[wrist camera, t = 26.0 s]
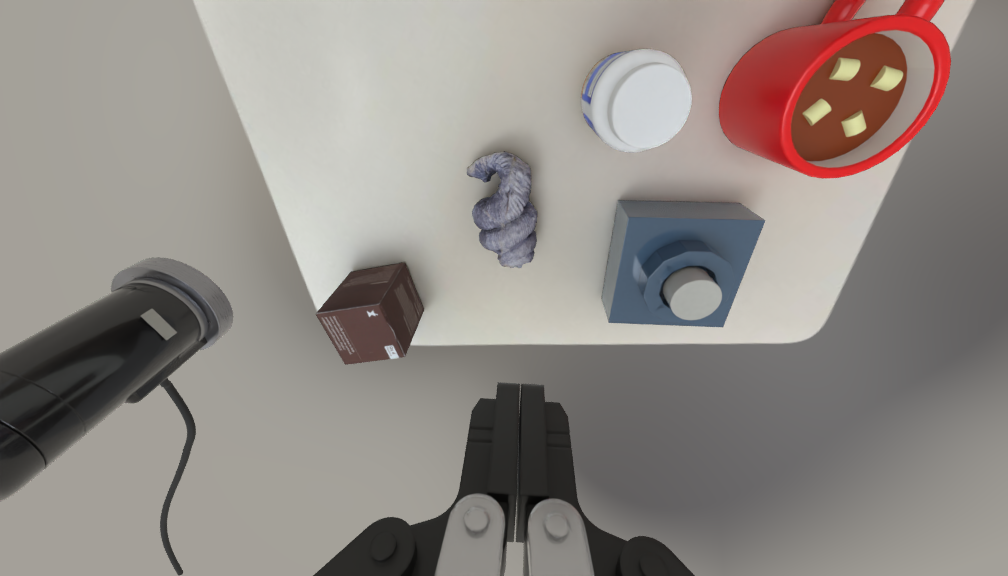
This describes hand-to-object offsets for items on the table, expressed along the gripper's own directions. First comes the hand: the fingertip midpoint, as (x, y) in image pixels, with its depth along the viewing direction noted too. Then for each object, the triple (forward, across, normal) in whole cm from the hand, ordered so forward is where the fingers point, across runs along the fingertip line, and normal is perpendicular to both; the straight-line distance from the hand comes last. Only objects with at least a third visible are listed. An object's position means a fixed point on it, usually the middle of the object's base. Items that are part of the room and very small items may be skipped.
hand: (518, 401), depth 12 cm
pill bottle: (+23, -6, -8) cm, 25 cm away
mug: (+22, -18, -10) cm, 31 cm away
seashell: (+23, +1, +1) cm, 23 cm away
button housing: (+22, -13, +5) cm, 26 cm away
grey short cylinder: (+17, -13, +5) cm, 22 cm away
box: (+23, +13, +10) cm, 29 cm away
